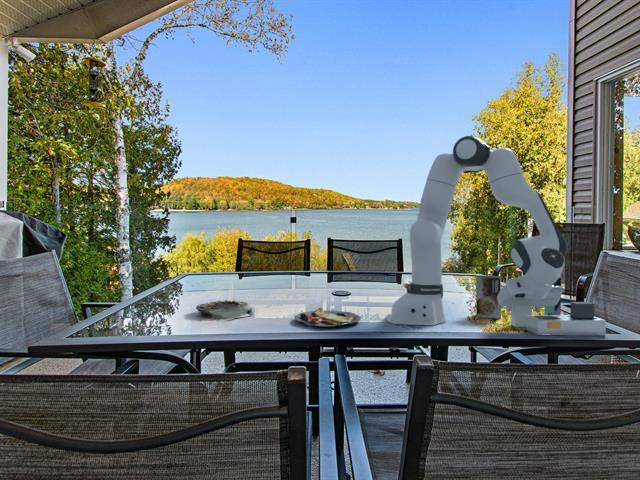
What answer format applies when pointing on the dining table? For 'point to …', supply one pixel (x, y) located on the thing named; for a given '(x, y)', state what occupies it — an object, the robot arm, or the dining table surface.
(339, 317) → the food plate
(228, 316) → the grey round shallow dish
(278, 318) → the dining table surface
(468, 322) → the dining table surface
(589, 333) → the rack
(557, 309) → the spray can
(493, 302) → the coffee box
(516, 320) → the panel
